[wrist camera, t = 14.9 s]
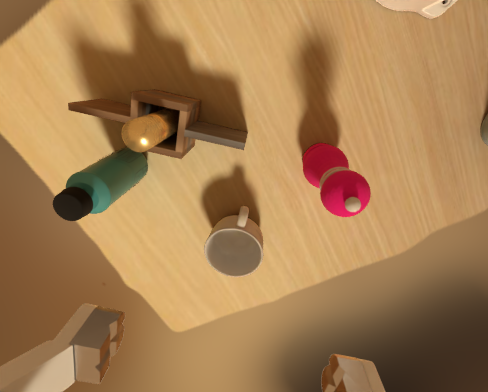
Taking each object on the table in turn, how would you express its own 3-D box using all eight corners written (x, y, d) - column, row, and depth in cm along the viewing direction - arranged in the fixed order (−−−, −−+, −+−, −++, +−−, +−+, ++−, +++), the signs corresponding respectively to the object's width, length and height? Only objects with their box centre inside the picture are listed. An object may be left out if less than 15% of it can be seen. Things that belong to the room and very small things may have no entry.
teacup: (249, 260, 59) (248, 286, 52) (203, 241, 58) (195, 265, 50) (279, 208, 54) (281, 229, 46) (228, 186, 52) (223, 204, 45)
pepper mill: (317, 132, 47) (353, 165, 29) (348, 154, 48) (402, 200, 30) (291, 164, 50) (310, 214, 32) (322, 185, 51) (357, 245, 33)
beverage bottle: (135, 137, 49) (61, 171, 31) (159, 165, 51) (104, 214, 33) (111, 157, 51) (28, 201, 33) (136, 184, 53) (70, 240, 35)
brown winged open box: (102, 77, 46) (67, 76, 37) (252, 112, 47) (250, 119, 38) (101, 124, 49) (69, 133, 41) (242, 156, 50) (238, 171, 41)
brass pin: (177, 102, 47) (138, 112, 32) (191, 122, 48) (160, 141, 33) (159, 114, 48) (114, 130, 33) (173, 134, 49) (136, 158, 34)
